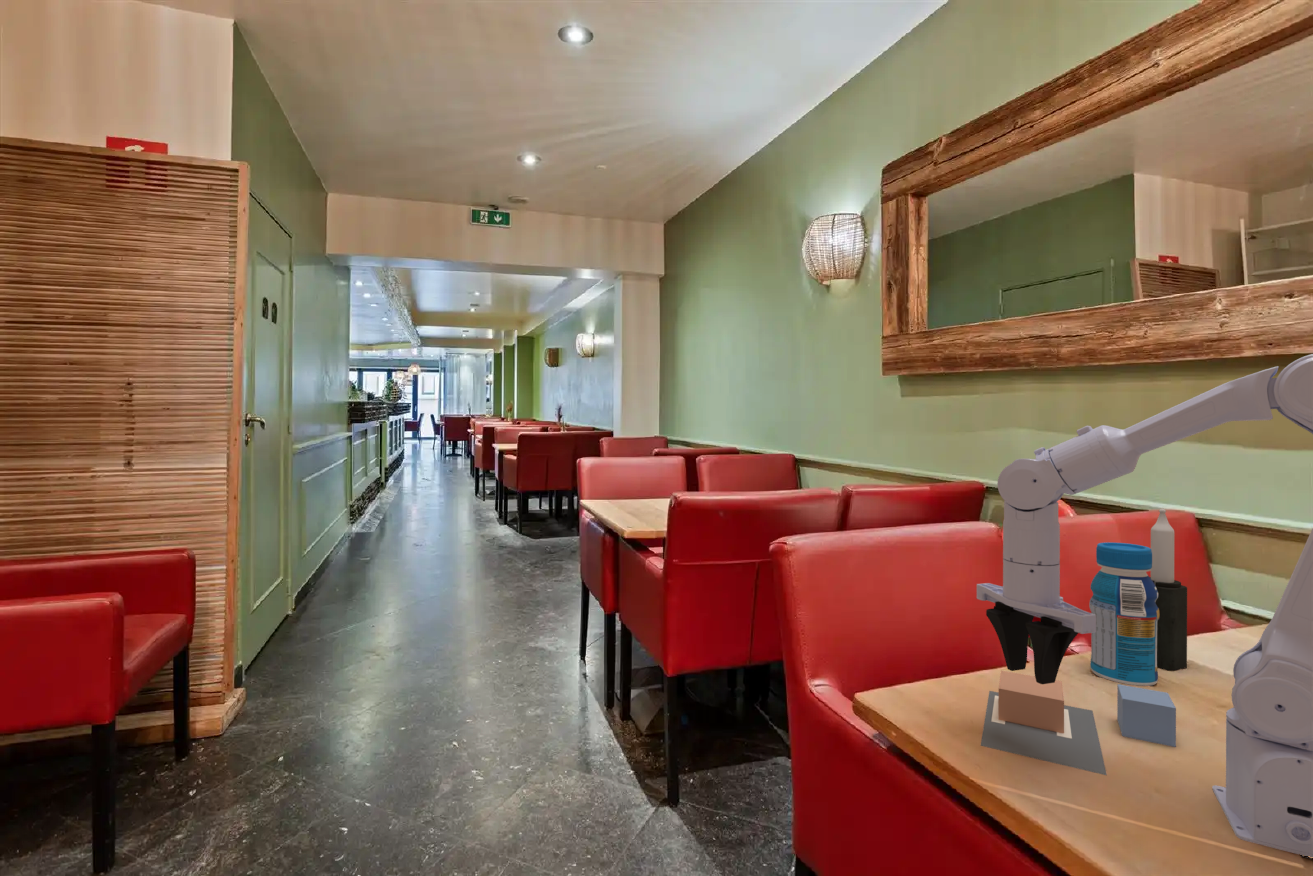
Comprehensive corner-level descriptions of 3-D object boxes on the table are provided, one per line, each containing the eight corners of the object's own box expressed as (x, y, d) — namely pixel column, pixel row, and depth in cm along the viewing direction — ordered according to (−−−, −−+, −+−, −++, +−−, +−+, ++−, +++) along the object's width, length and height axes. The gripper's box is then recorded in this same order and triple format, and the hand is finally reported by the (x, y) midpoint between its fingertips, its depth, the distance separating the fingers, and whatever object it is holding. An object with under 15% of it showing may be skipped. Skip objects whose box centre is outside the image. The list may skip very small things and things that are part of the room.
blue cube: (1175, 750, 71) (1175, 708, 71) (1122, 739, 74) (1122, 698, 74) (1167, 733, 76) (1167, 692, 76) (1117, 723, 78) (1117, 684, 78)
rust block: (1063, 733, 75) (1064, 700, 75) (998, 719, 78) (998, 688, 78) (1061, 711, 80) (1061, 681, 80) (1000, 699, 84) (1000, 670, 84)
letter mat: (1106, 778, 65) (1106, 775, 65) (980, 748, 72) (980, 745, 72) (1092, 712, 81) (1092, 710, 81) (989, 692, 87) (989, 690, 87)
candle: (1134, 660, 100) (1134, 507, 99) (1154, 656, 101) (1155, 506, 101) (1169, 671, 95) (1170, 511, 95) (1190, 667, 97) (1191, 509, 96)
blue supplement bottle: (1078, 673, 94) (1078, 543, 94) (1105, 663, 98) (1106, 539, 98) (1142, 693, 87) (1143, 553, 87) (1170, 681, 91) (1170, 547, 91)
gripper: (1117, 572, 66) (1117, 697, 66) (1007, 548, 80) (1007, 651, 80) (1067, 576, 64) (1066, 704, 64) (963, 550, 78) (962, 656, 78)
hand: (1030, 675), depth 72 cm, fingers open, 3 cm apart
